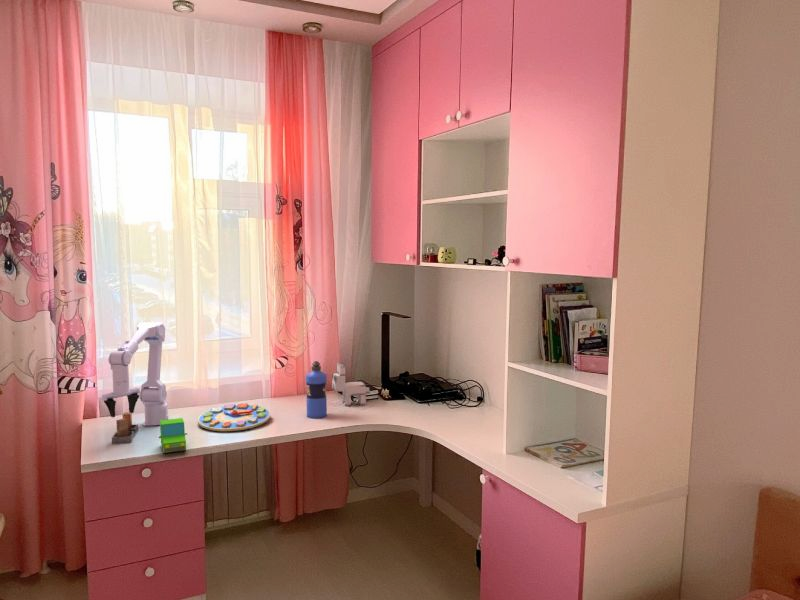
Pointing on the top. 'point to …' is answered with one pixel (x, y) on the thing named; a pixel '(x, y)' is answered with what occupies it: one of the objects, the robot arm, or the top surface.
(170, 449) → the toy car
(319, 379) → the water bottle
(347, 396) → the toy llama
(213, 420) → the shape sorting clock
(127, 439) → the grey compartment box
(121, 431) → the wooden block with lid
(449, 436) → the top surface
